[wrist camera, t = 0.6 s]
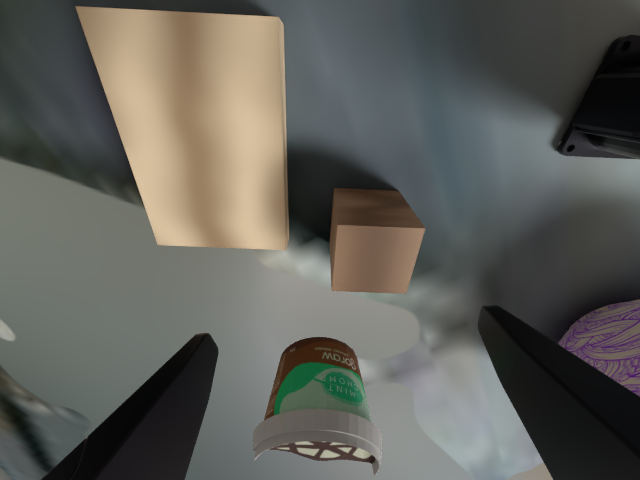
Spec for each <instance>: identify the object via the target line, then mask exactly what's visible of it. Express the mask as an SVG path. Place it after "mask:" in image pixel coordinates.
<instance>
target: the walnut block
mask: <svg viewBox="0 0 640 480" xmlns="http://www.w3.org/2000/svg"><path fill="white" fill-rule="evenodd" d="M424 232H425V227H424V226H423V224H422V223H421V222H420V220H419V219H418V217H417V216H416V215H415V213H414V212H413V210H412V209H411V207H410V206H409V205H408V203H407V202H406V200H405V199H404V198H403V196H402V195H401V193H400V192H399V191H392V190H369V189H345V188H334V190H333V204H332V218H331V231H330V262H331V284H332V291H349V292H377V293H404V294H406V292H407V289H408V286H409V282H410V279H411V275H412V272H413V269H414V265H415V262H416V259H417V255H418V252H419V248H420V245H421V242H422V238H423V235H424Z"/></svg>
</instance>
